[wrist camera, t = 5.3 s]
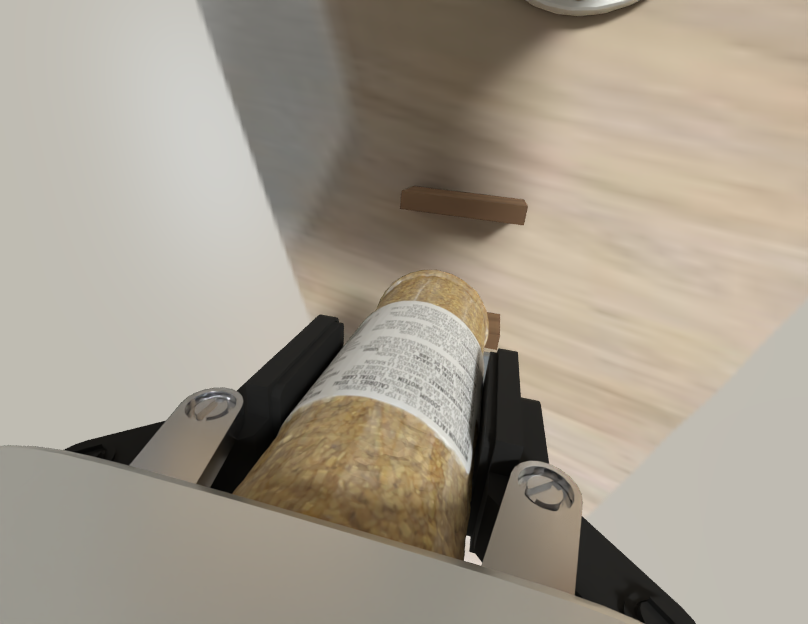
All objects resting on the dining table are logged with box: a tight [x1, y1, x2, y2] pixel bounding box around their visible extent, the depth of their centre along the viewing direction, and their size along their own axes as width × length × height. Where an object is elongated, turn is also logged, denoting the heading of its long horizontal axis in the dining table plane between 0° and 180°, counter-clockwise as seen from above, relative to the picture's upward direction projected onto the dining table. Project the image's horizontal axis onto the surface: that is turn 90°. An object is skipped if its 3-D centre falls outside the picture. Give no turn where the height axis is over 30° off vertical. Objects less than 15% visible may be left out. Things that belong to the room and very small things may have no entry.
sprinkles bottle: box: [232, 270, 489, 561], centre depth 10 cm, size 5×5×13 cm
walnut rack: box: [400, 186, 528, 350], centre depth 25 cm, size 9×7×4 cm
